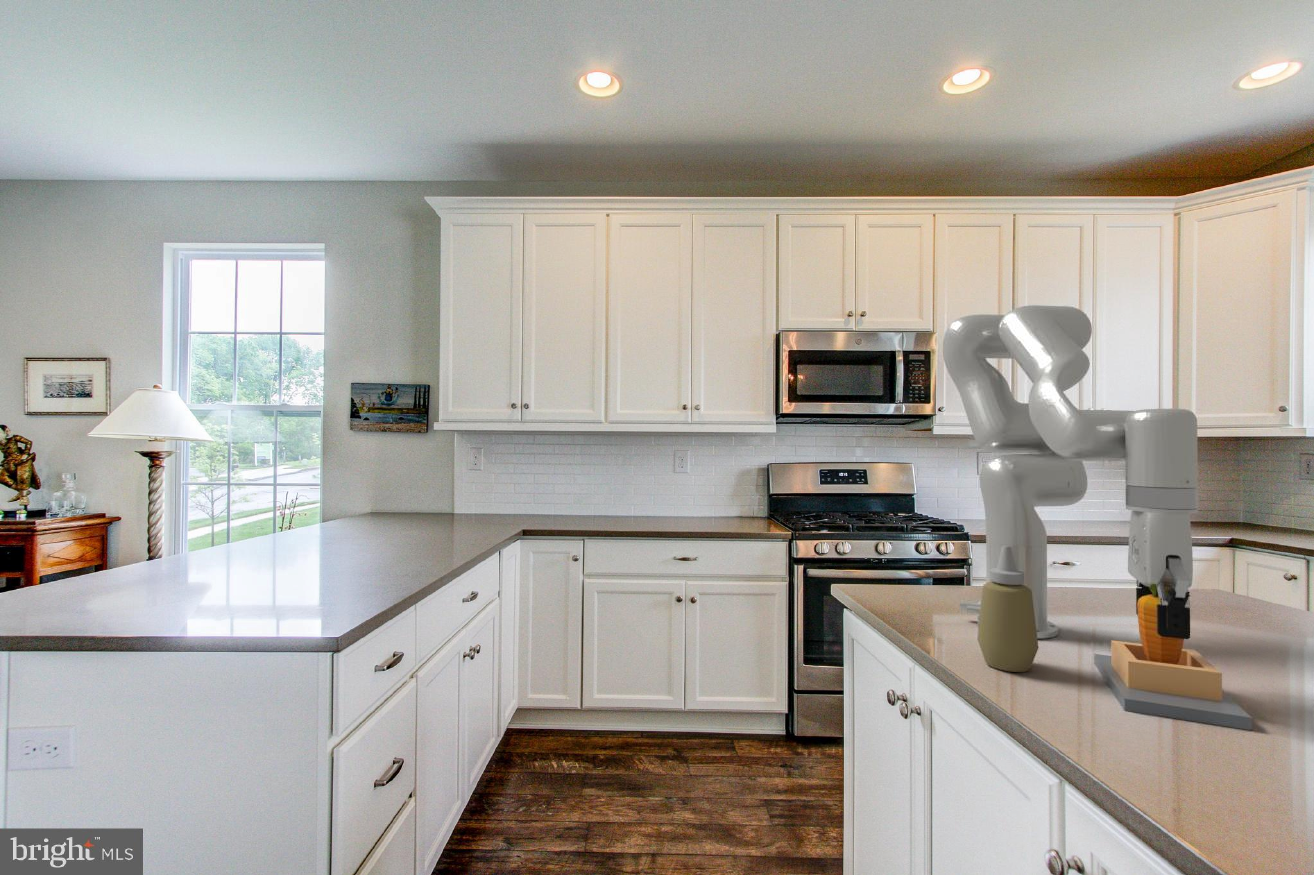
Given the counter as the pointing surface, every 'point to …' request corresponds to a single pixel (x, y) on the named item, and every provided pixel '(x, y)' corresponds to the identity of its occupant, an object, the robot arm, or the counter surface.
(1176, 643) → the carrot
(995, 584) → the squeeze bottle
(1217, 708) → the socket block
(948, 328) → the robot arm
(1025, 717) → the counter surface
